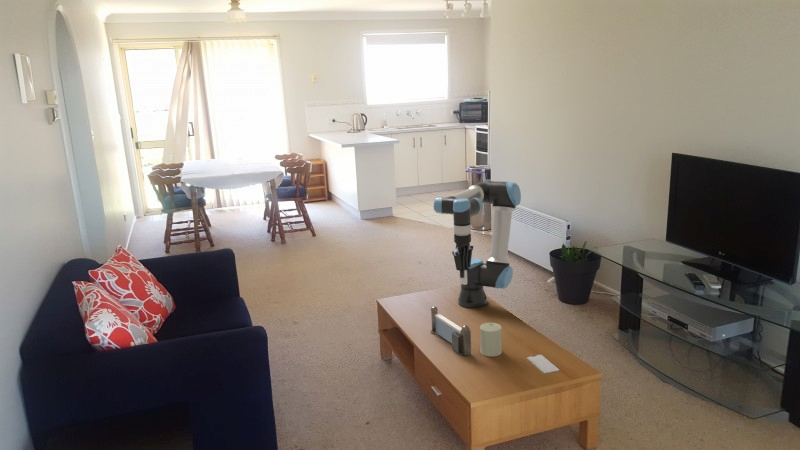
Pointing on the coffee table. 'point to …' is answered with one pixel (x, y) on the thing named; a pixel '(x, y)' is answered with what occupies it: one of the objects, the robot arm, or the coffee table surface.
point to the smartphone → (543, 364)
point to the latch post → (462, 341)
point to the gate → (446, 327)
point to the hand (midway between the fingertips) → (463, 283)
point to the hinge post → (433, 319)
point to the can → (490, 339)
